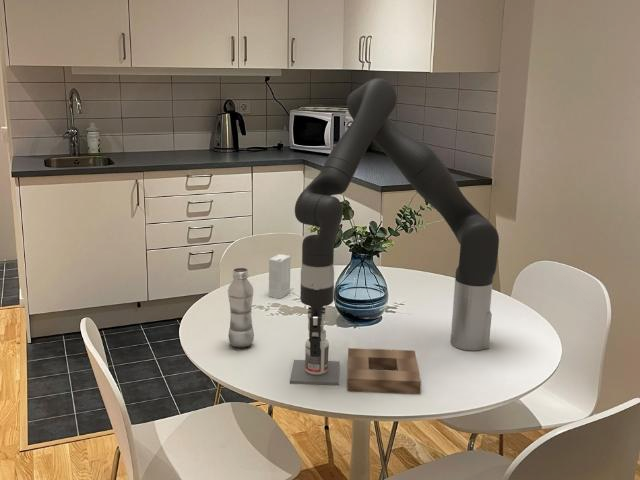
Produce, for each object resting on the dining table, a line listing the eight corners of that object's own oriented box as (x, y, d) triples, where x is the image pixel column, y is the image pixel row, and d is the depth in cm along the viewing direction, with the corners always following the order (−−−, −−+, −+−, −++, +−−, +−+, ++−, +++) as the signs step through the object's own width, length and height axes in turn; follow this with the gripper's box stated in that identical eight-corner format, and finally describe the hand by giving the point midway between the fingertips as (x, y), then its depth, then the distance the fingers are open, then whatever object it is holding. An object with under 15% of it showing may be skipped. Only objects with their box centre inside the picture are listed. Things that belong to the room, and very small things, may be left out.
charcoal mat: (339, 363, 170) (339, 361, 170) (338, 385, 159) (338, 382, 159) (293, 361, 170) (293, 359, 170) (289, 383, 160) (290, 380, 160)
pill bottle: (319, 363, 168) (320, 325, 166) (332, 371, 164) (334, 332, 162) (300, 369, 165) (301, 329, 163) (313, 377, 161) (314, 337, 159)
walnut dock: (414, 361, 172) (414, 350, 171) (420, 393, 156) (420, 381, 155) (347, 359, 172) (348, 348, 171) (347, 390, 157) (347, 378, 156)
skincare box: (278, 290, 218) (278, 253, 215) (290, 293, 216) (291, 255, 213) (267, 296, 213) (267, 258, 209) (280, 299, 211) (280, 260, 208)
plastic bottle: (254, 339, 182) (254, 265, 177) (253, 350, 176) (252, 274, 170) (229, 339, 182) (228, 265, 177) (227, 350, 176) (225, 274, 170)
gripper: (302, 271, 166) (301, 335, 170) (298, 292, 152) (297, 361, 156) (334, 272, 165) (333, 336, 170) (333, 293, 152) (331, 362, 156)
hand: (316, 348), depth 163 cm, fingers open, 8 cm apart
